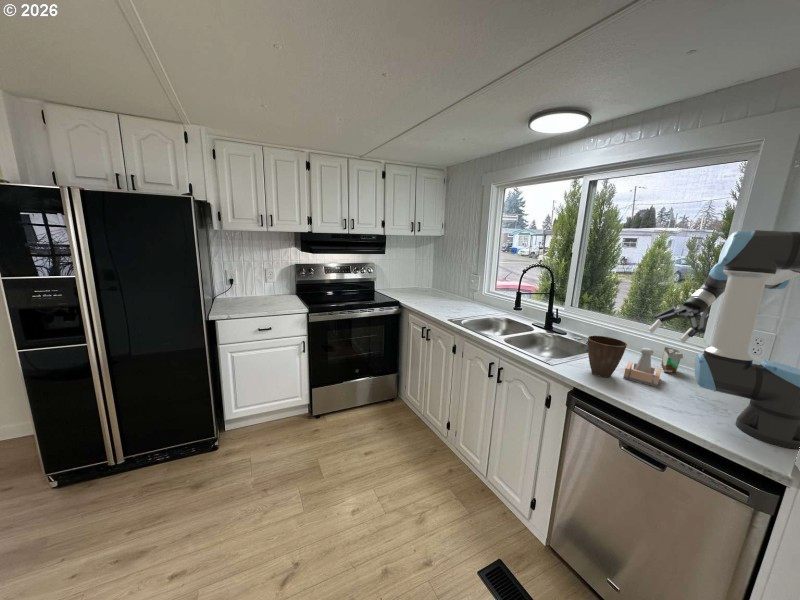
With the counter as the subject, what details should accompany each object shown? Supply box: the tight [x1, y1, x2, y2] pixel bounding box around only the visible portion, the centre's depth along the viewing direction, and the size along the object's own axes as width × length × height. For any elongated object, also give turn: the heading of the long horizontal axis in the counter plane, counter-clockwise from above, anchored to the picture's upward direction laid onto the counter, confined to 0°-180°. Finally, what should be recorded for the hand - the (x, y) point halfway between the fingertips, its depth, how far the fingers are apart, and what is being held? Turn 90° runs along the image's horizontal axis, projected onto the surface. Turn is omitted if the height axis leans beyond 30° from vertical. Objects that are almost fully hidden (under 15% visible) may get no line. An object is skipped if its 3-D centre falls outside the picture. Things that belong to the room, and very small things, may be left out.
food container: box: [660, 346, 684, 374], centre depth 152 cm, size 12×6×10 cm, turn 148°
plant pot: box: [587, 335, 628, 378], centre depth 144 cm, size 15×15×16 cm
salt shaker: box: [635, 347, 654, 374], centre depth 141 cm, size 6×6×13 cm
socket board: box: [623, 361, 662, 388], centre depth 143 cm, size 12×12×5 cm
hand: (665, 335), depth 141 cm, fingers open, 13 cm apart
